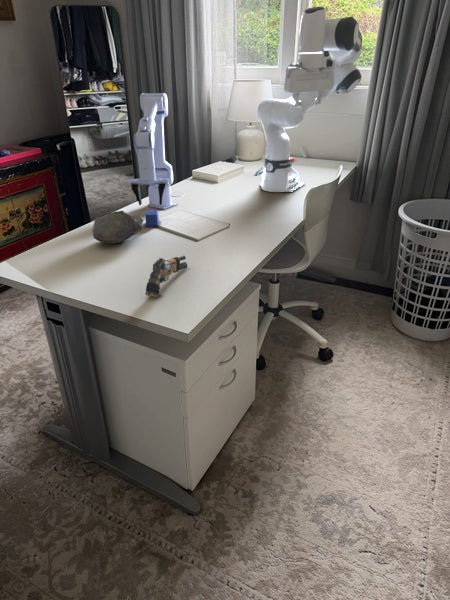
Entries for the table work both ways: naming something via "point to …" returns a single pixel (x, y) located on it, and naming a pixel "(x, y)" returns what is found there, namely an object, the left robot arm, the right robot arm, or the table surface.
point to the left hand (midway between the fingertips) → (150, 204)
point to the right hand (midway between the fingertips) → (307, 105)
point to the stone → (116, 227)
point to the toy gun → (163, 273)
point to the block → (152, 218)
